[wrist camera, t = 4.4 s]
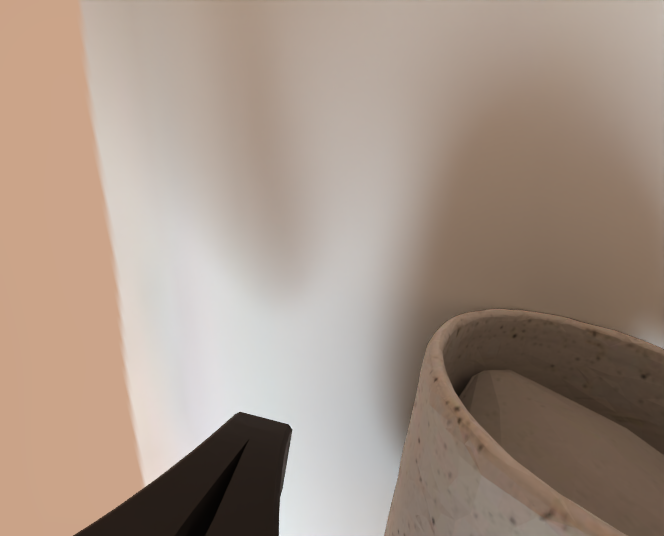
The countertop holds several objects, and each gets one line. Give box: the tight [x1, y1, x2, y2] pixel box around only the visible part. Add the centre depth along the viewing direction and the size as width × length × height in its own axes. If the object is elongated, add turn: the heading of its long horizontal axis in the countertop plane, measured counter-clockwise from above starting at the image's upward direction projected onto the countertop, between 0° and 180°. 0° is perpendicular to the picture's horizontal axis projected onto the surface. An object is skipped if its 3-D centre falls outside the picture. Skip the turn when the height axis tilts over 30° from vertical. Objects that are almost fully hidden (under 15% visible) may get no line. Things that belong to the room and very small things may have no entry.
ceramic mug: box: [384, 309, 664, 536], centre depth 8 cm, size 11×8×8 cm
